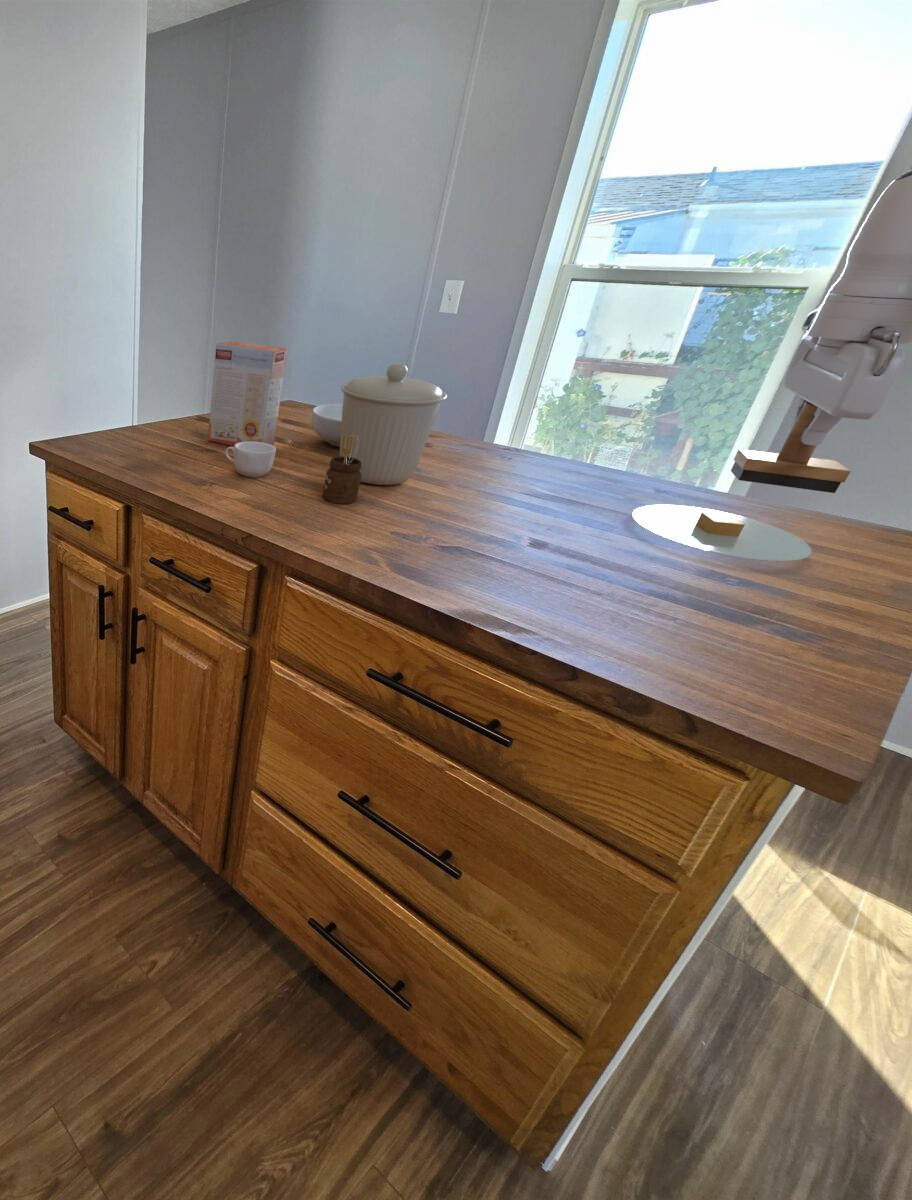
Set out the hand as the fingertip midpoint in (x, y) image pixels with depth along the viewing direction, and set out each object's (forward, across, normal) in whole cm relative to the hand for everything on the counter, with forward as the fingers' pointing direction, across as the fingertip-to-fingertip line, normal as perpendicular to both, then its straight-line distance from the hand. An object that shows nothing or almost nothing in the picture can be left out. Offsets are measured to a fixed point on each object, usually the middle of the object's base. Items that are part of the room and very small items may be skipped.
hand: (802, 439), depth 84 cm
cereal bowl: (+19, +37, +62) cm, 75 cm away
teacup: (+19, +5, +74) cm, 77 cm away
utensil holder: (+19, 0, +55) cm, 58 cm away
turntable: (+19, +13, 0) cm, 23 cm away
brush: (+6, 0, 0) cm, 6 cm away
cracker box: (+19, +23, +82) cm, 87 cm away
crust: (+18, +13, 0) cm, 22 cm away
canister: (+19, +16, +52) cm, 58 cm away
